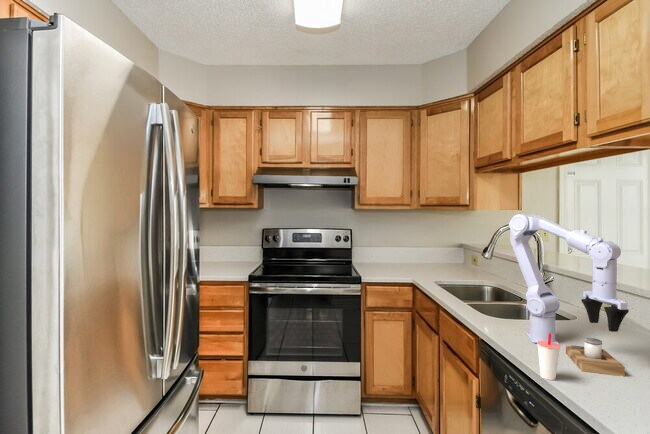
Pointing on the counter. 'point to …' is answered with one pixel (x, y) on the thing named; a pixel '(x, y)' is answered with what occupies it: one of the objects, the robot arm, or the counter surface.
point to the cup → (548, 358)
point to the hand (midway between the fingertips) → (603, 326)
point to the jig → (595, 362)
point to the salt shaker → (592, 348)
